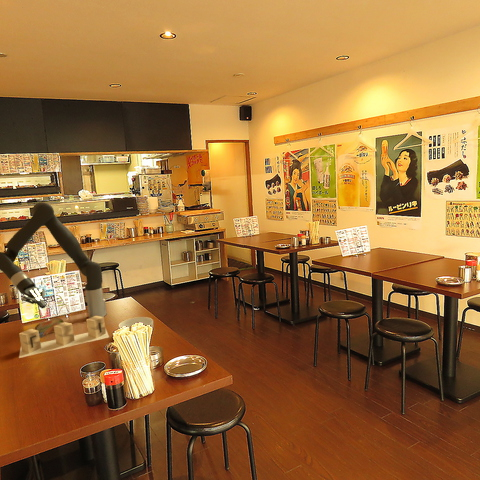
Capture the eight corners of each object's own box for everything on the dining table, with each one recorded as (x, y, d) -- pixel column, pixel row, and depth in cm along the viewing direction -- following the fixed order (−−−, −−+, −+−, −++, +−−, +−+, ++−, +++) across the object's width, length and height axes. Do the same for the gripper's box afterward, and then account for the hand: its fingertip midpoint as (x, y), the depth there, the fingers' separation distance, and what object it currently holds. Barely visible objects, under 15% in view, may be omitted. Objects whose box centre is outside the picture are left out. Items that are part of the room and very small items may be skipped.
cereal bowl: (119, 345, 189) (117, 331, 187) (120, 332, 204) (118, 319, 203) (155, 339, 193) (153, 325, 192) (153, 327, 209) (152, 314, 208)
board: (105, 330, 209) (105, 328, 209) (109, 339, 197) (109, 337, 197) (21, 349, 192) (20, 347, 192) (19, 360, 180) (18, 357, 180)
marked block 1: (98, 332, 205) (96, 315, 204) (106, 333, 202) (104, 317, 200) (88, 336, 200) (86, 319, 199) (96, 338, 197) (94, 321, 195)
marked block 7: (34, 346, 192) (31, 328, 191) (41, 348, 189) (38, 330, 187) (22, 351, 187) (19, 333, 186) (29, 353, 184) (26, 335, 182)
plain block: (67, 338, 199) (64, 321, 197) (74, 340, 195) (72, 323, 194) (56, 343, 194) (53, 326, 192) (63, 345, 190) (61, 327, 189)
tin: (37, 341, 201) (35, 325, 200) (34, 340, 203) (32, 324, 202) (65, 331, 213) (63, 316, 212) (62, 330, 215) (60, 315, 214)
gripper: (14, 281, 191) (36, 306, 188) (36, 274, 203) (58, 298, 200) (8, 291, 193) (30, 316, 191) (30, 283, 206) (51, 307, 203)
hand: (44, 307), depth 196 cm, fingers closed
